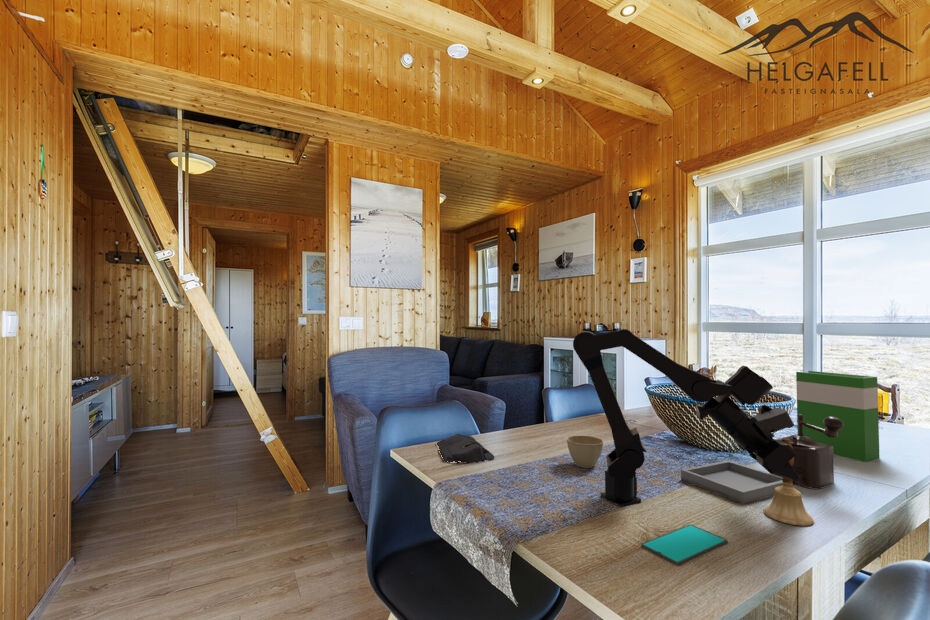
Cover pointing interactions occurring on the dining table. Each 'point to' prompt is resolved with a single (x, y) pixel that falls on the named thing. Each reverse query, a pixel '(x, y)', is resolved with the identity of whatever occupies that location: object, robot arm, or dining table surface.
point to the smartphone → (684, 544)
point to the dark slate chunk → (463, 449)
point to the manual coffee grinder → (814, 454)
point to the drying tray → (733, 480)
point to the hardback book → (841, 411)
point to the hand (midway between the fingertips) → (795, 477)
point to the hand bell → (788, 502)
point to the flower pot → (585, 450)
